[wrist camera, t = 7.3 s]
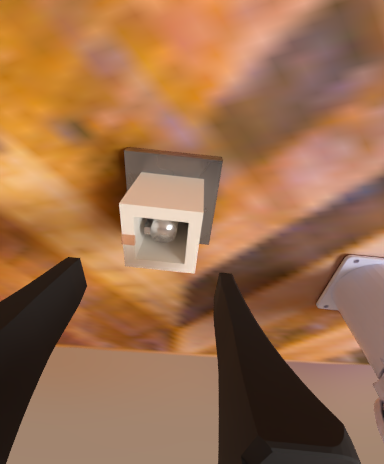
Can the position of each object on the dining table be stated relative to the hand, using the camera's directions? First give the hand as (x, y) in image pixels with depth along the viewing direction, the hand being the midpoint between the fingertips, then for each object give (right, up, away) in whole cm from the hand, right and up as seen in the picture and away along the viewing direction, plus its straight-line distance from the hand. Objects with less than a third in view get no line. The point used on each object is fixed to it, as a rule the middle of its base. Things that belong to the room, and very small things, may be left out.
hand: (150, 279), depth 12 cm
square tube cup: (0, +5, +7) cm, 9 cm away
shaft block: (+1, +6, +8) cm, 10 cm away
